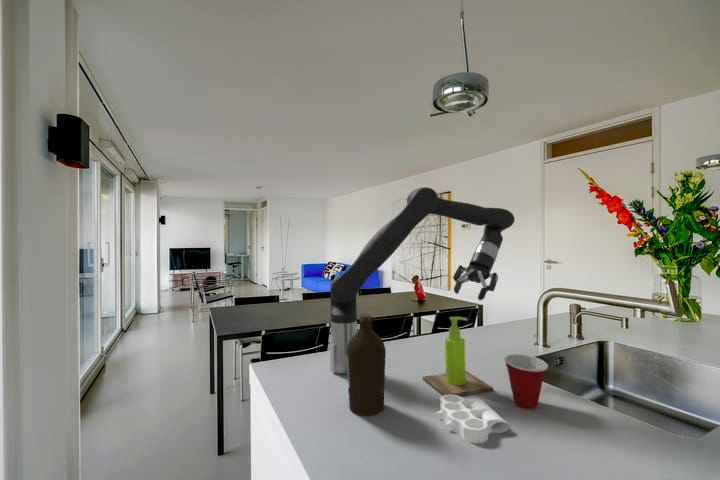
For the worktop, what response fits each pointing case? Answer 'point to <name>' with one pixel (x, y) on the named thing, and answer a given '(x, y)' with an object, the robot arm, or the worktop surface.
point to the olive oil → (366, 369)
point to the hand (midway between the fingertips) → (467, 295)
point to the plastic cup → (525, 378)
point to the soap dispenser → (455, 354)
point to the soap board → (470, 387)
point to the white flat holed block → (470, 418)
